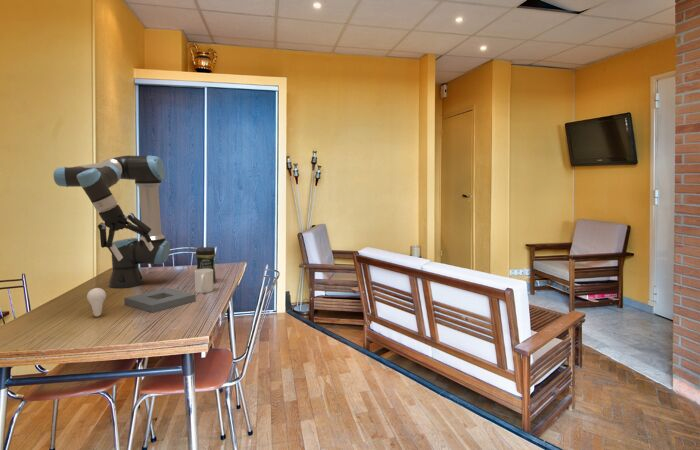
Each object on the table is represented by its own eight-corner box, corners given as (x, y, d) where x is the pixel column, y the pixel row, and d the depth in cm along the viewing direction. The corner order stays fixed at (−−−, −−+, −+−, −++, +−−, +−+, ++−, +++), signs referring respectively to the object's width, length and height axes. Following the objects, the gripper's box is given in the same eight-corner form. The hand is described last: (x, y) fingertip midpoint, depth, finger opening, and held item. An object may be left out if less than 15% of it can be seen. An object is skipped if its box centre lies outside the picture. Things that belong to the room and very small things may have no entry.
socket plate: (124, 304, 170) (124, 297, 170) (168, 294, 187) (167, 288, 187) (152, 312, 160) (151, 305, 159) (195, 301, 176) (195, 294, 176)
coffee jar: (195, 284, 206) (194, 248, 204) (197, 281, 214) (196, 246, 212) (215, 284, 208) (214, 248, 206) (216, 280, 216) (215, 246, 214)
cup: (214, 288, 199) (213, 268, 198) (212, 294, 187) (211, 273, 186) (196, 289, 197) (195, 268, 196) (192, 295, 185) (192, 273, 184)
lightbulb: (93, 314, 158) (92, 286, 157) (110, 313, 158) (108, 286, 157) (84, 319, 152) (83, 290, 151) (101, 318, 152) (100, 290, 151)
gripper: (72, 221, 152) (103, 268, 161) (134, 201, 151) (161, 249, 160) (83, 214, 159) (112, 258, 168) (142, 195, 158) (168, 241, 167)
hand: (136, 254), depth 164 cm, fingers open, 13 cm apart
